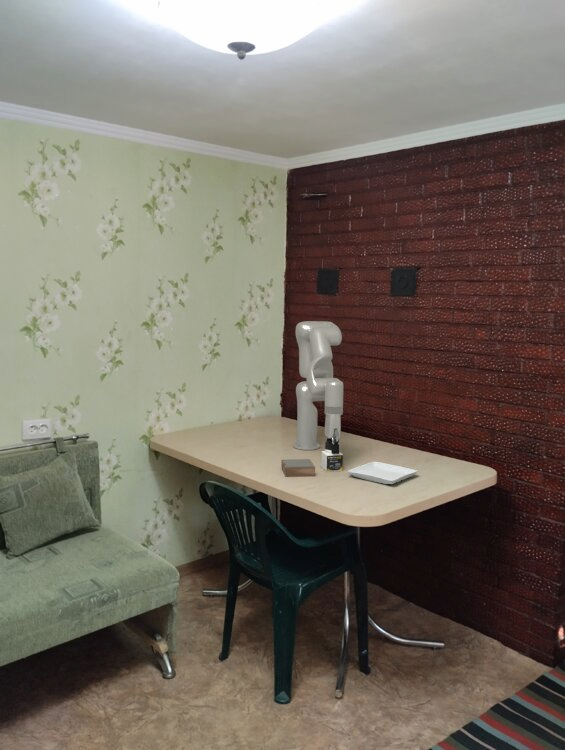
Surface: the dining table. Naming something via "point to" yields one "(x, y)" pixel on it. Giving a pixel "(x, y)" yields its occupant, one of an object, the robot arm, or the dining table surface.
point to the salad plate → (382, 472)
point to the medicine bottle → (331, 459)
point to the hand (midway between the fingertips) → (332, 451)
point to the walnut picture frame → (297, 467)
